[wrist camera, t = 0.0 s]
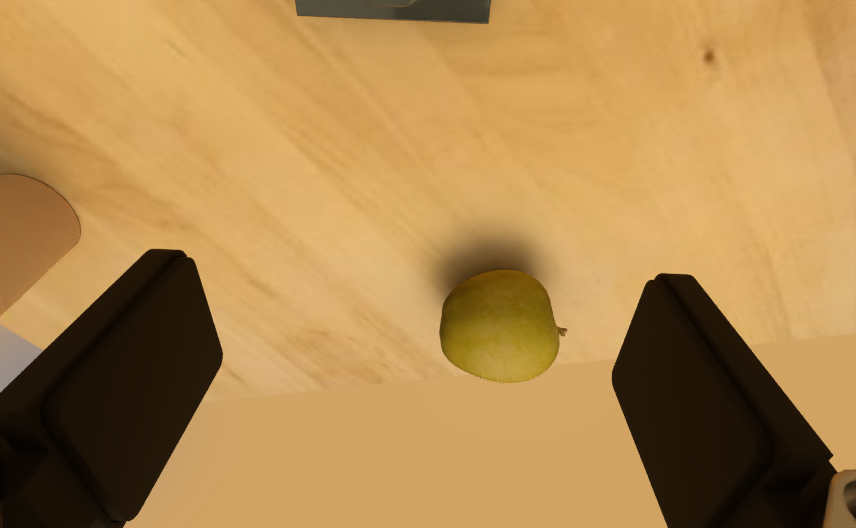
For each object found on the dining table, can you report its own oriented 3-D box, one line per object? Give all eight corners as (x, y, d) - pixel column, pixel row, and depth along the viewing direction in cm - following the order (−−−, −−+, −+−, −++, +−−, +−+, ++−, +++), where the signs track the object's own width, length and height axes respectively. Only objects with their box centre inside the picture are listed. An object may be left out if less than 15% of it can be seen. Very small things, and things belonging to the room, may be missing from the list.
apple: (554, 323, 37) (578, 401, 31) (446, 331, 38) (446, 409, 32) (557, 244, 33) (585, 315, 26) (435, 255, 34) (432, 327, 27)
